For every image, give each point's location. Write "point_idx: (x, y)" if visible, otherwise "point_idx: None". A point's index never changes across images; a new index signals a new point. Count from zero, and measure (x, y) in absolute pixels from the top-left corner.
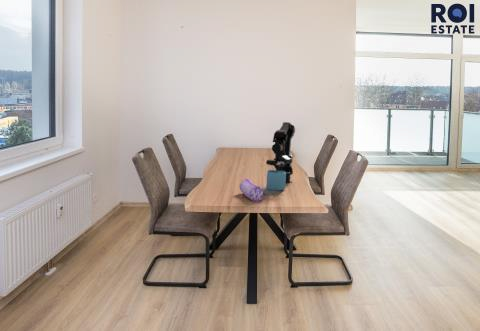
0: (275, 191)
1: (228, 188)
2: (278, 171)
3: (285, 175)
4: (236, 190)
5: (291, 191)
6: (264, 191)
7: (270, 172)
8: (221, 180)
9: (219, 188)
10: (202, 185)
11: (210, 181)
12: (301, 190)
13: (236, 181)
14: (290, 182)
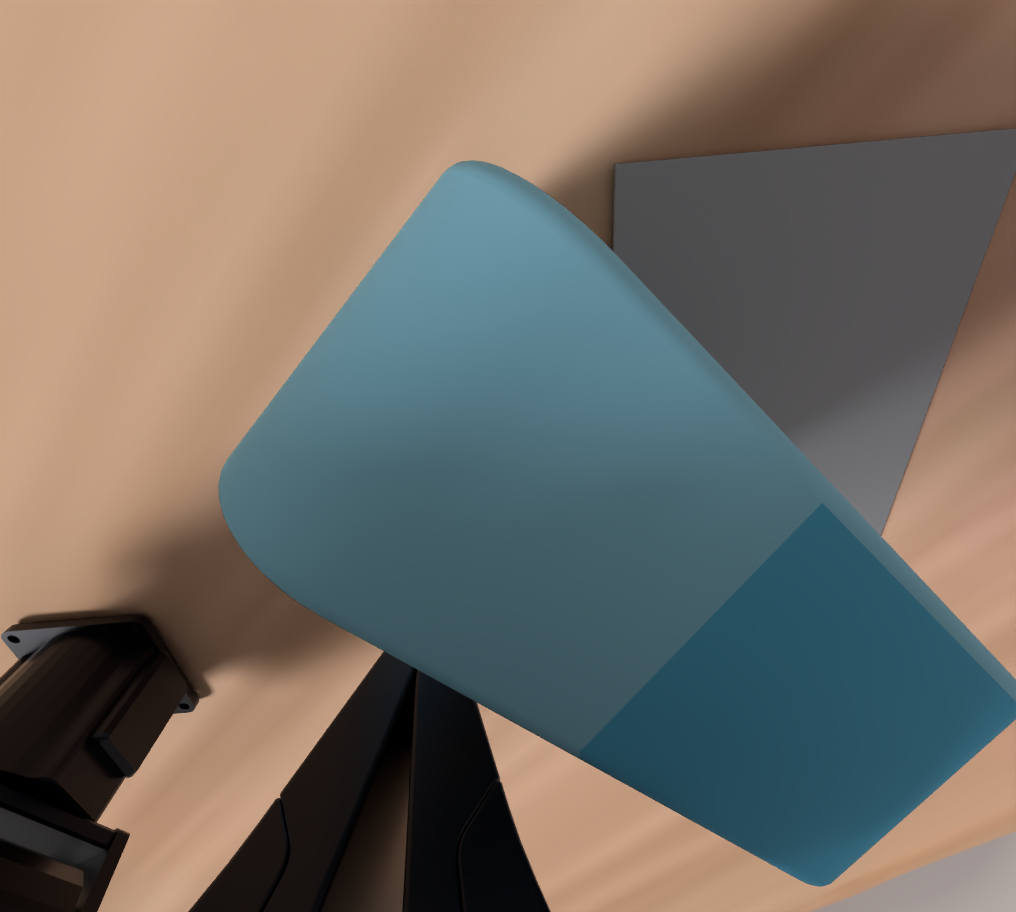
0: (664, 286)
1: None
2: (650, 649)
3: (486, 167)
4: (986, 621)
5: (347, 110)
6: (811, 392)
7: (994, 697)
8: (701, 892)
9: (1003, 739)
10: (978, 843)
11: (799, 895)
12: (45, 41)
13: (623, 846)
14: (38, 624)
